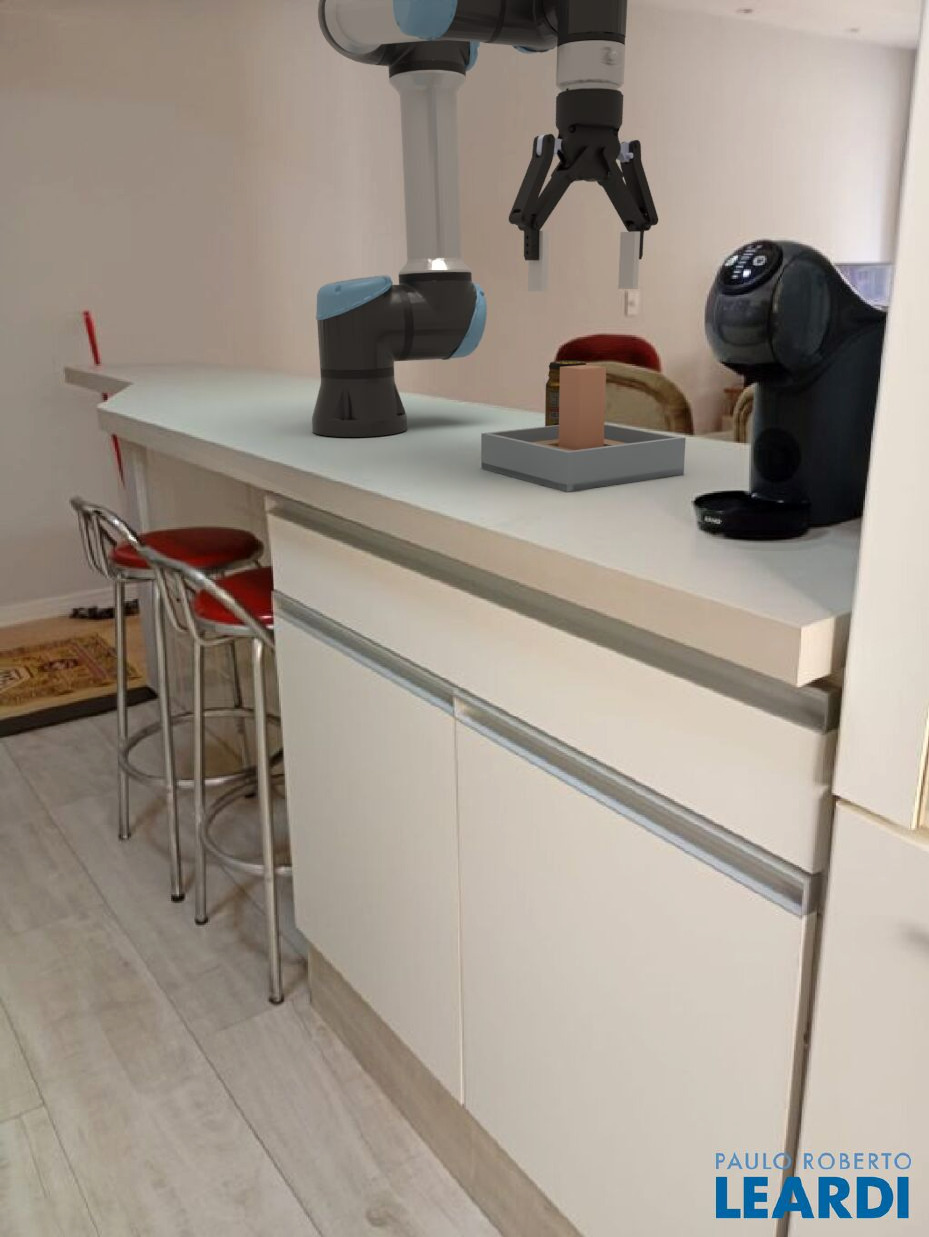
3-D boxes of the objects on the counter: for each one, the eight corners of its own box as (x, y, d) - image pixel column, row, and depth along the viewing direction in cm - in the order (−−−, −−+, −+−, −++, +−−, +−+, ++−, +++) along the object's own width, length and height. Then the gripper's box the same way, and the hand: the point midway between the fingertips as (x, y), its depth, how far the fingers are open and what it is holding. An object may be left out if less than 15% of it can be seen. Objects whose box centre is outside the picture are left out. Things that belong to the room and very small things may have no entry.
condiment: (599, 448, 143) (602, 361, 139) (552, 454, 139) (554, 365, 135) (567, 441, 149) (569, 358, 145) (521, 447, 145) (521, 362, 141)
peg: (558, 464, 127) (559, 366, 123) (583, 461, 129) (585, 364, 125) (577, 469, 124) (580, 369, 120) (603, 465, 126) (606, 367, 122)
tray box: (481, 468, 129) (481, 433, 128) (591, 454, 138) (592, 421, 137) (567, 491, 115) (567, 452, 113) (683, 474, 124) (685, 437, 122)
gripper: (517, 75, 103) (515, 292, 110) (695, 94, 116) (683, 288, 123) (478, 86, 109) (478, 291, 116) (651, 102, 122) (642, 287, 129)
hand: (584, 290), depth 120 cm, fingers open, 13 cm apart
